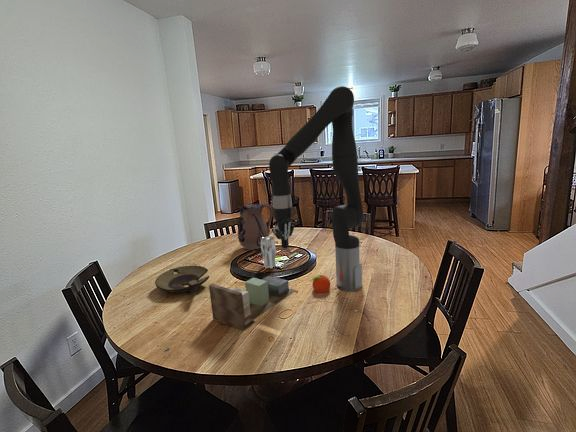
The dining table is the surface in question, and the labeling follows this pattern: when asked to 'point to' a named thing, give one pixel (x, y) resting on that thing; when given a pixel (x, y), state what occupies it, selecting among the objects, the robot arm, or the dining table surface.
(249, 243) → the ceramic pitcher
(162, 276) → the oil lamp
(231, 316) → the book shelf
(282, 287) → the dark gray rectangular block
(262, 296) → the pale green chunky prism
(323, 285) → the tomato
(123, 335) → the dining table surface
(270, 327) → the dining table surface
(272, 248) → the beer glass
